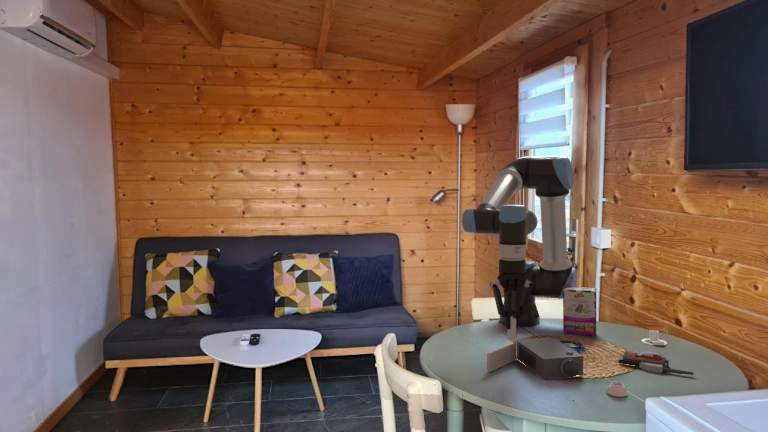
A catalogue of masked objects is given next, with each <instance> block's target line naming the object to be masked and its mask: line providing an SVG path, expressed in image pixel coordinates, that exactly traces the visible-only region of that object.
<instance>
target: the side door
mask: <svg viewBox="0 0 768 432" xmlns="http://www.w3.org/2000/svg"><path fill="white" fill-rule="evenodd" d="M515 359H516V360H517V340H516V341H511V342H510V343H507V344H505V345H502V346H500V347H496V348H495V349H493V350H490V351H488V352H487V353H486V372H490V373H491V372H493V371H495V370H498V369H500V368H502V367H504V366H506V365H508V364H510V363H513V362H514V361H516V360H515Z"/></svg>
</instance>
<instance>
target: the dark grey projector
mask: <svg viewBox="0 0 768 432" xmlns="http://www.w3.org/2000/svg"><path fill="white" fill-rule="evenodd" d="M517 359H518V360H520V361H521V362H523V363H524V364H525V365H526V366H525V368H527V369H528V370H529V371H531V372H533V374H535V375H536V376H537V377H538V378H540V379H542V380H543V381H549V380H550V381H551V380H562V379H563V380H564V379H570V378H569V377H573V376H576V375H583V376H584V355H583V354H581V353H579V352H577V351H576V350H573V349H572V348H571V347H569V346H567V345H565V344H563V342H560V341H558V340H557V339H555V338H554V337H550V338H549V337H548V338H547V337H546V338H536V339H535V338H534V339H533V338H532V339H521V340H520V339H519V340H517V339H516V360H517ZM518 360H517V361H518Z"/></svg>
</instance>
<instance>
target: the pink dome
mask: <svg viewBox="0 0 768 432" xmlns="http://www.w3.org/2000/svg"><path fill="white" fill-rule="evenodd" d="M606 393H607V395H609V396H612V397H617V398H623V397H626V396H628V394H629V392H628V390H627V389H626V387H625V385H624V382H621V381H615V380H613V381H610V384H609V385H608V387H607V389H606Z"/></svg>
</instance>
